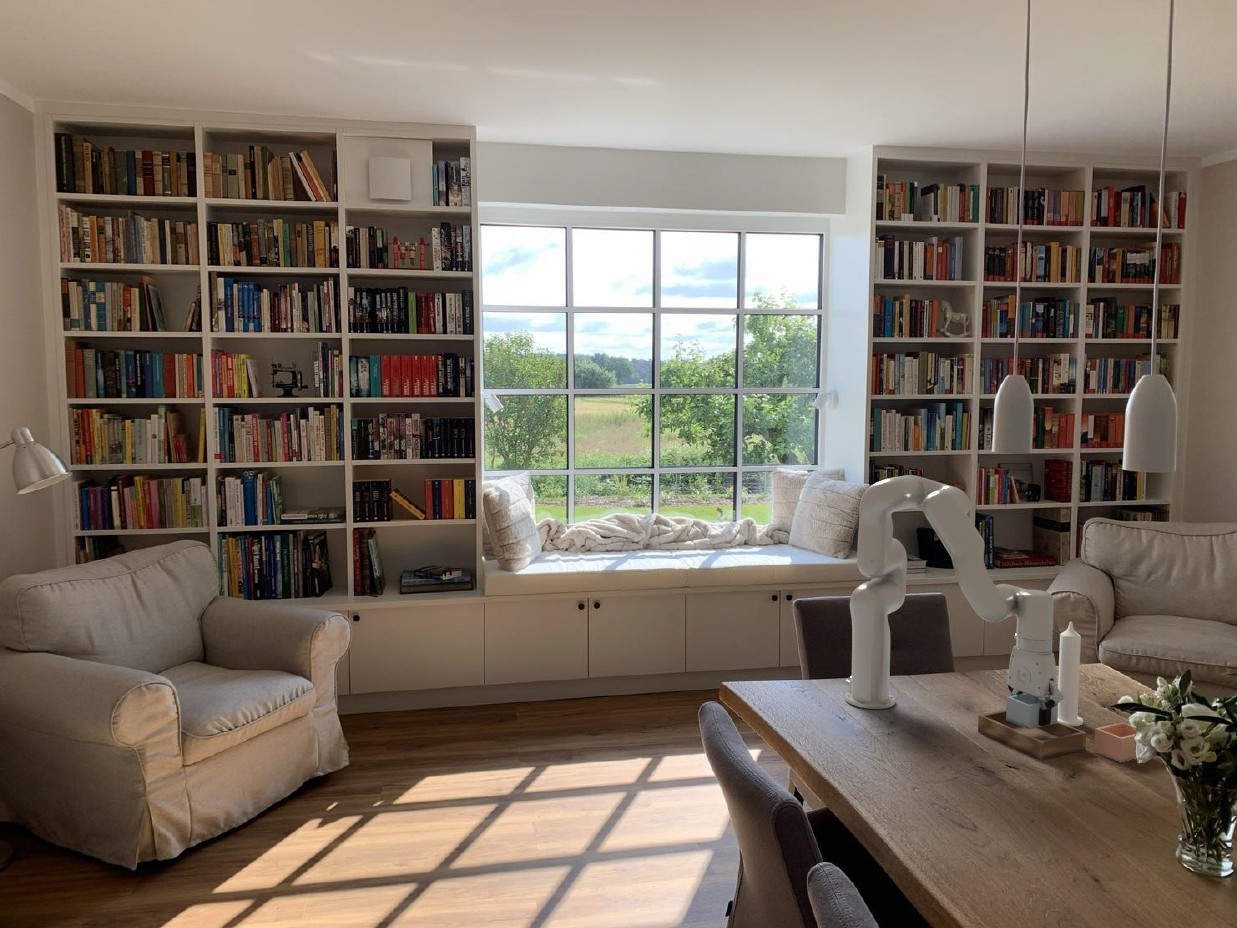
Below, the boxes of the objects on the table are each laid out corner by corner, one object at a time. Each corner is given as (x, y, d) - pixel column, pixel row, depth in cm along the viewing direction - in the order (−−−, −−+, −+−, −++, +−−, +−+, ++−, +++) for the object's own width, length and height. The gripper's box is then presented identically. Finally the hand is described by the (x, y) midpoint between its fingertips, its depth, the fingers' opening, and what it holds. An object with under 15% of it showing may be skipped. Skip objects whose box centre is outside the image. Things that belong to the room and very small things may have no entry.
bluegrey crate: (1006, 719, 209) (1006, 696, 208) (1034, 713, 212) (1034, 691, 212) (1028, 729, 203) (1029, 705, 202) (1057, 723, 206) (1058, 699, 206)
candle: (1076, 728, 215) (1080, 627, 213) (1046, 720, 220) (1050, 621, 218) (1087, 721, 219) (1092, 621, 217) (1058, 713, 225) (1062, 616, 223)
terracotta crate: (1093, 752, 201) (1094, 728, 201) (1121, 745, 205) (1122, 722, 204) (1120, 763, 195) (1121, 738, 195) (1148, 756, 199) (1149, 732, 198)
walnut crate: (977, 731, 213) (978, 715, 213) (1020, 722, 219) (1021, 706, 219) (1040, 760, 197) (1041, 742, 197) (1085, 749, 203) (1086, 732, 202)
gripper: (992, 636, 212) (990, 709, 214) (1054, 656, 197) (1051, 735, 198) (1015, 633, 215) (1013, 705, 217) (1078, 652, 200) (1075, 729, 201)
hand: (1031, 718), depth 207 cm, fingers closed on bluegrey crate, 6 cm apart
